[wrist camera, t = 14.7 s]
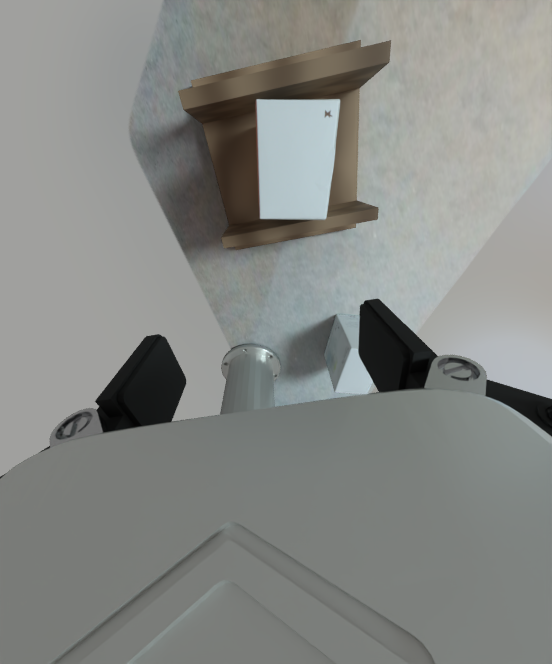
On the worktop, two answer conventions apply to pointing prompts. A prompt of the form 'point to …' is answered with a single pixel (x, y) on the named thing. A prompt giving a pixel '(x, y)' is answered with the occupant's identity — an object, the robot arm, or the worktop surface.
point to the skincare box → (346, 357)
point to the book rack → (240, 135)
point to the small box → (295, 157)
